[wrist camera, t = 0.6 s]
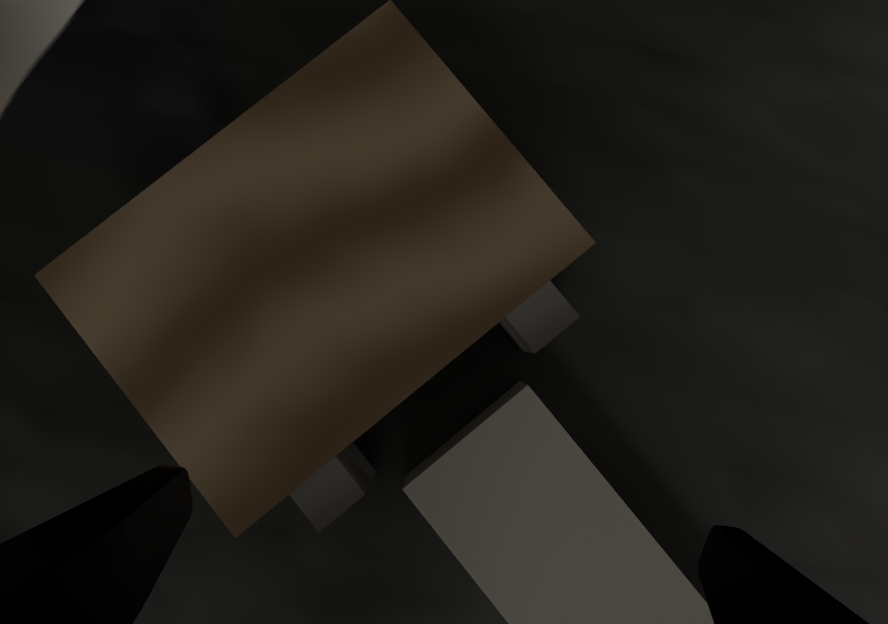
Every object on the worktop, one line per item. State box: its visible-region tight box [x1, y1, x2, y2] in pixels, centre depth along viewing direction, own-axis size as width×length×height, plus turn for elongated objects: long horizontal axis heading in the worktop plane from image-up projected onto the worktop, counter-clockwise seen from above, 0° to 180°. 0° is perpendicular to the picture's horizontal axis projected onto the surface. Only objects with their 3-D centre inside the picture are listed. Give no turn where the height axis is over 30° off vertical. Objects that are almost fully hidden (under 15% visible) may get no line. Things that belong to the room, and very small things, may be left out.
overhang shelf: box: [34, 0, 596, 538], centre depth 19 cm, size 15×18×4 cm
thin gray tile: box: [402, 381, 714, 624], centre depth 20 cm, size 16×7×2 cm, turn 39°
